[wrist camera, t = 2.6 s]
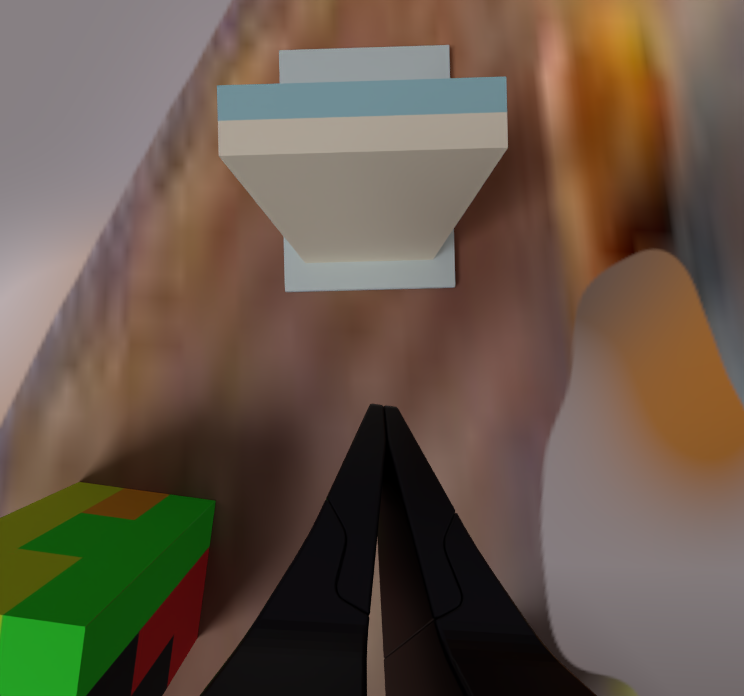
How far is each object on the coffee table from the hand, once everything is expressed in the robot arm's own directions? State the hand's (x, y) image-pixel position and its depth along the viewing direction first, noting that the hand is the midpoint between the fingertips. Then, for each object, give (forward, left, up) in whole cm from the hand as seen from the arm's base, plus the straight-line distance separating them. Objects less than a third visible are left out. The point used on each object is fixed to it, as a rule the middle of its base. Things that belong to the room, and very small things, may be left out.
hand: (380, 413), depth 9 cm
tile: (+6, -7, -12) cm, 15 cm away
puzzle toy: (+5, +21, -13) cm, 25 cm away
